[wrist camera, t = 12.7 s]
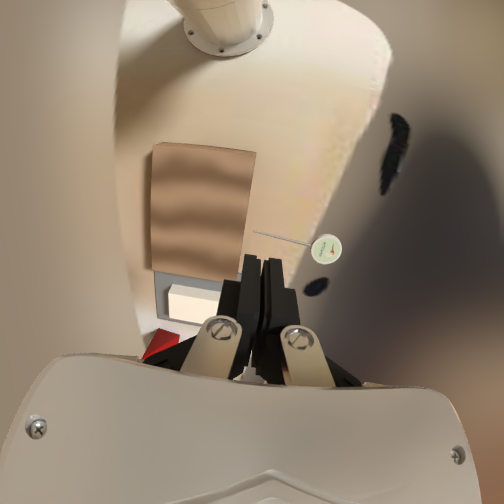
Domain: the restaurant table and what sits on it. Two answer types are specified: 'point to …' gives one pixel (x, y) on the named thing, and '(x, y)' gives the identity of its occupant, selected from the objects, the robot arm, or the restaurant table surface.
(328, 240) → the sign
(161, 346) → the french fries
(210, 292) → the cream rectangular block
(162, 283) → the mat
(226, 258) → the board
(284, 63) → the restaurant table surface
